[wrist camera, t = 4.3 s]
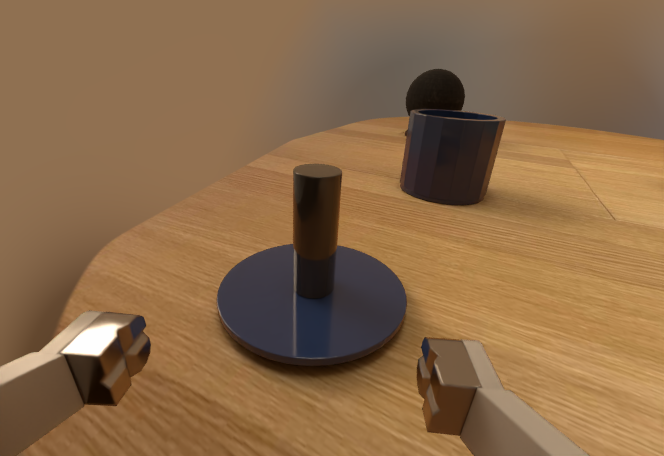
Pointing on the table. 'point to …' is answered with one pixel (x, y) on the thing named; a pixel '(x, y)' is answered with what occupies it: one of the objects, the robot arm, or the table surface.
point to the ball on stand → (435, 92)
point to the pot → (450, 155)
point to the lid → (312, 287)
